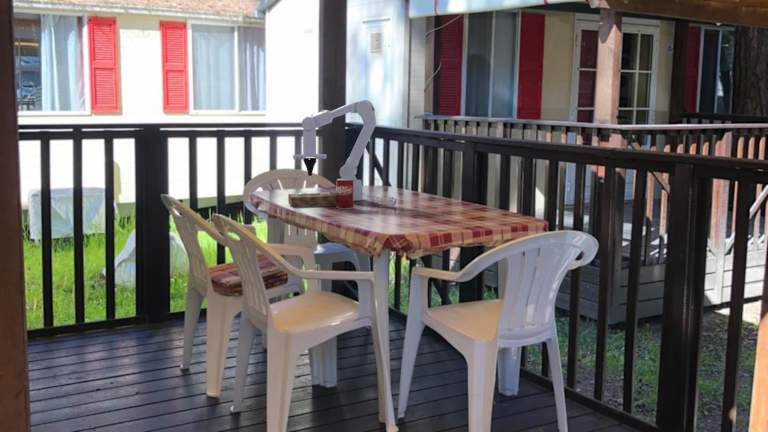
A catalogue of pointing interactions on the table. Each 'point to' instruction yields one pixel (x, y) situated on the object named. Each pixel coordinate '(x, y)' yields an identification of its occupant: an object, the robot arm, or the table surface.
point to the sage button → (301, 194)
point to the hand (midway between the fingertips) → (309, 175)
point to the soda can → (345, 193)
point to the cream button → (324, 193)
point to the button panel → (312, 200)
